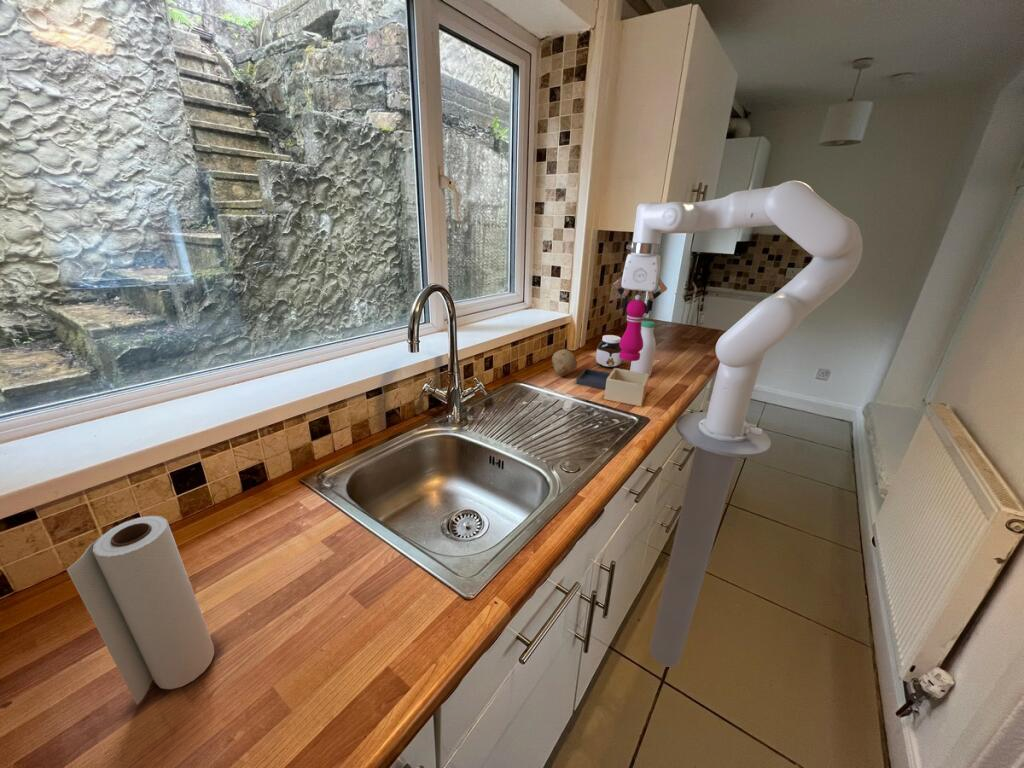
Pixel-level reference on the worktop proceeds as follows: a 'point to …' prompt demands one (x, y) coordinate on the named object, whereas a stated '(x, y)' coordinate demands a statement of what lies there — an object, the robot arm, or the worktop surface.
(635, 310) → the pepper mill
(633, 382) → the open box
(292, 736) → the worktop surface
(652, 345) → the milk bottle
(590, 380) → the tray
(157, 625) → the paper towel roll
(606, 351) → the spread jar
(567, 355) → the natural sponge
